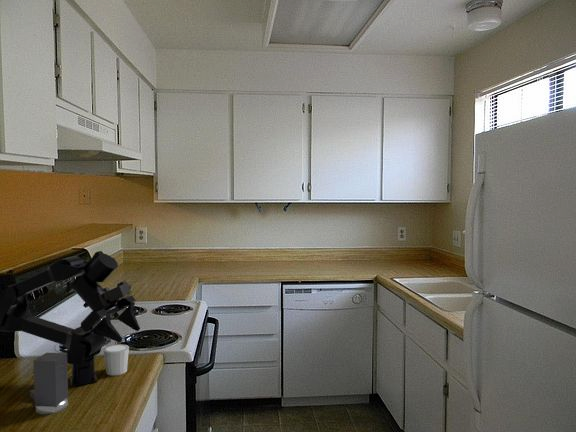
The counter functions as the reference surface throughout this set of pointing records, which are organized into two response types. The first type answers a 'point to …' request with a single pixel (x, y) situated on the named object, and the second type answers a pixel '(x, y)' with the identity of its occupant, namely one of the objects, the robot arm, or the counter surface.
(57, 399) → the dark grey square block
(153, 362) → the counter surface
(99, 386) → the counter surface
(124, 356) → the white tapered cup
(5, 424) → the counter surface
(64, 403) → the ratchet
